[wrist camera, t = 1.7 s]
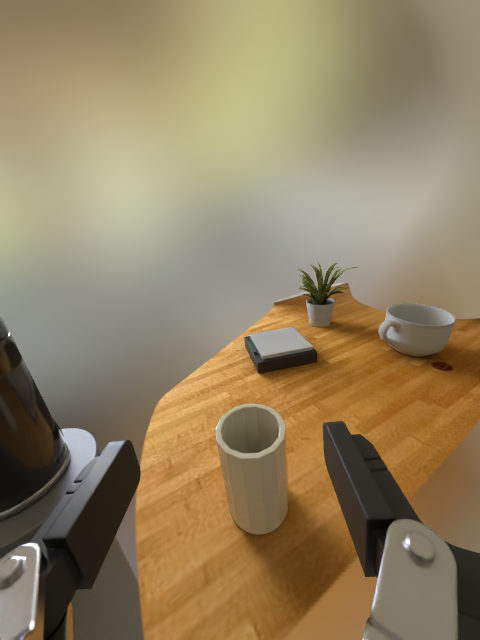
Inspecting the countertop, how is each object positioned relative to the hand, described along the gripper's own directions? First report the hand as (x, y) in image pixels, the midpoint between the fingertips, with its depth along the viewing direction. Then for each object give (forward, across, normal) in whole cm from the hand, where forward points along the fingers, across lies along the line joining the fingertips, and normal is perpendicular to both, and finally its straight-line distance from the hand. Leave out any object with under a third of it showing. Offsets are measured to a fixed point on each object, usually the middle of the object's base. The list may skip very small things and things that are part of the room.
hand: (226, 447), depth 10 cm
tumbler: (+11, 0, +18) cm, 21 cm away
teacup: (+38, -31, +17) cm, 52 cm away
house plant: (+55, -20, +15) cm, 60 cm away
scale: (+41, -6, +16) cm, 44 cm away
